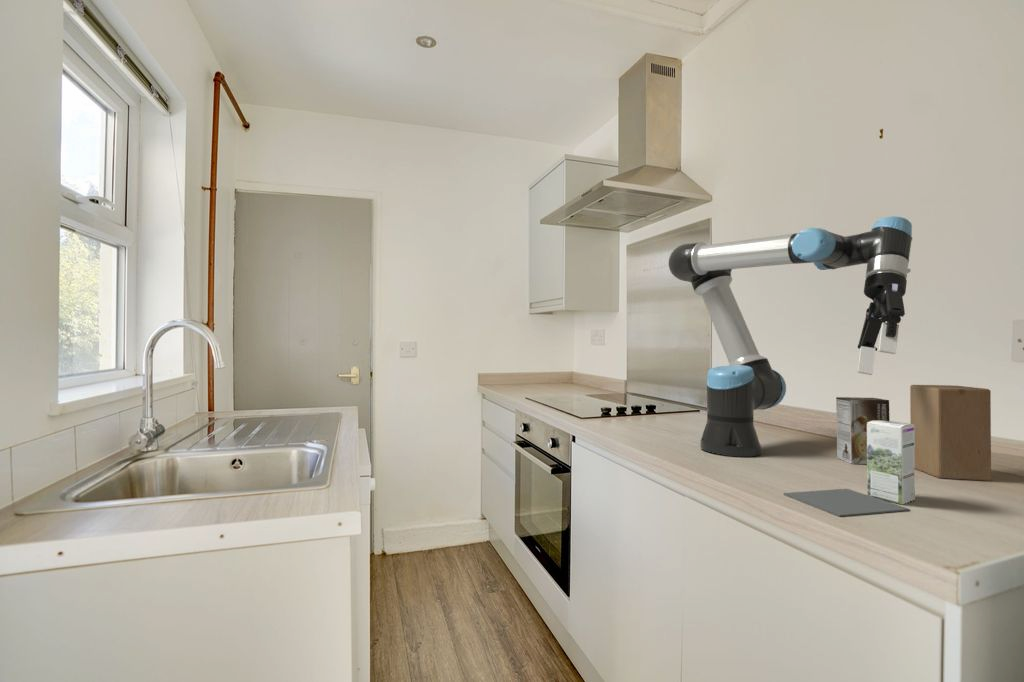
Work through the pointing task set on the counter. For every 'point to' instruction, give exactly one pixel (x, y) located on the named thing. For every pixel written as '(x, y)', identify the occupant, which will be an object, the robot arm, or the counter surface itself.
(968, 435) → the wooden block
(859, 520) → the counter surface
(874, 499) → the mat
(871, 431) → the syrup box
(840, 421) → the coffee box
